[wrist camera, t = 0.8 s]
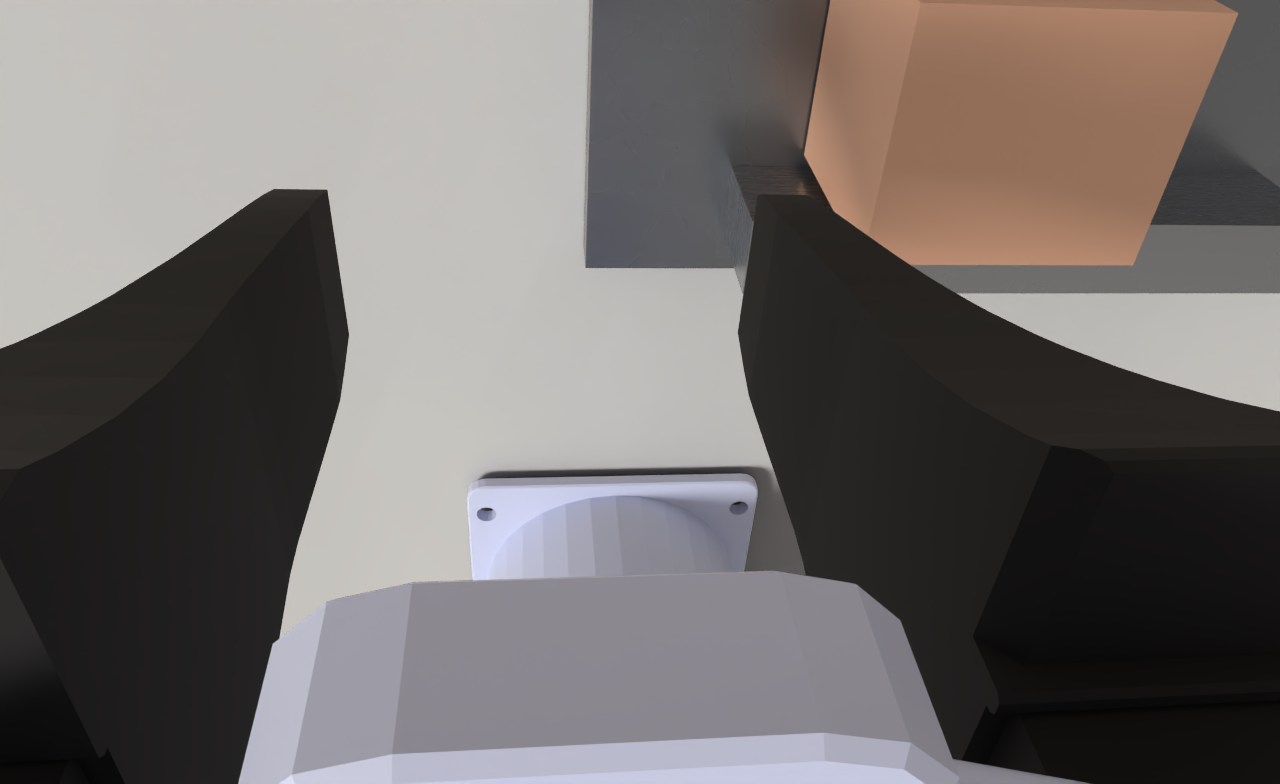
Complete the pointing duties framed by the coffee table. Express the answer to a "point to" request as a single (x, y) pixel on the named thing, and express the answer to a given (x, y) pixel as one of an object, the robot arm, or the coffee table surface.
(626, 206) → the chute
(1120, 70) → the block
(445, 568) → the coffee table surface
